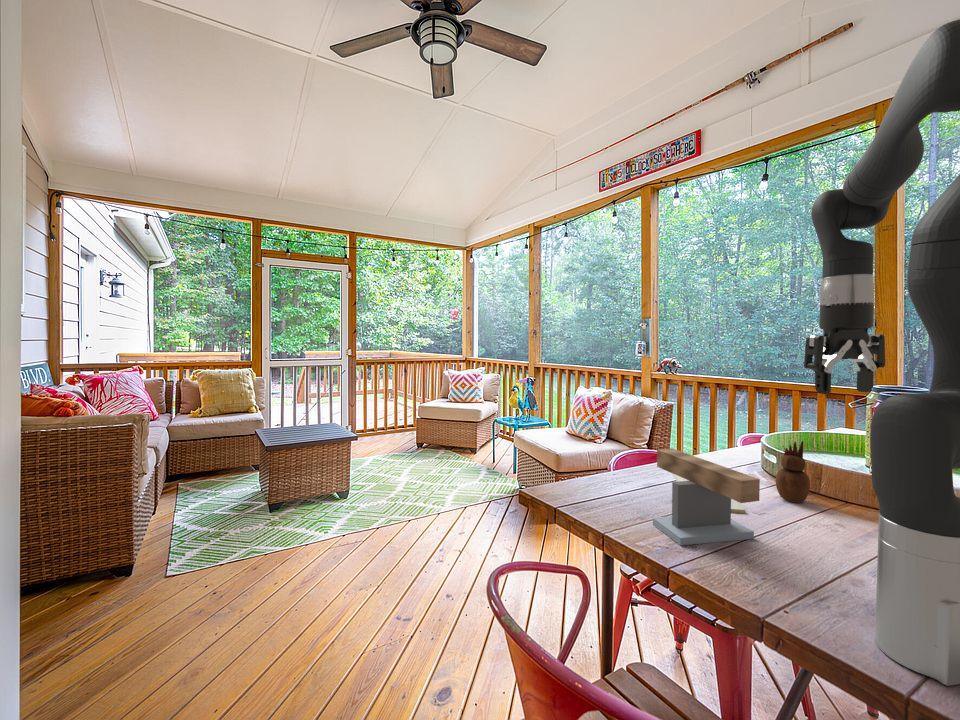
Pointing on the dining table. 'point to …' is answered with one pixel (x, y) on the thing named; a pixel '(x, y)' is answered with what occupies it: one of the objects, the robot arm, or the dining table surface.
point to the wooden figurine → (793, 476)
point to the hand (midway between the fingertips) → (843, 392)
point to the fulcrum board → (703, 532)
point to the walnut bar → (710, 475)
